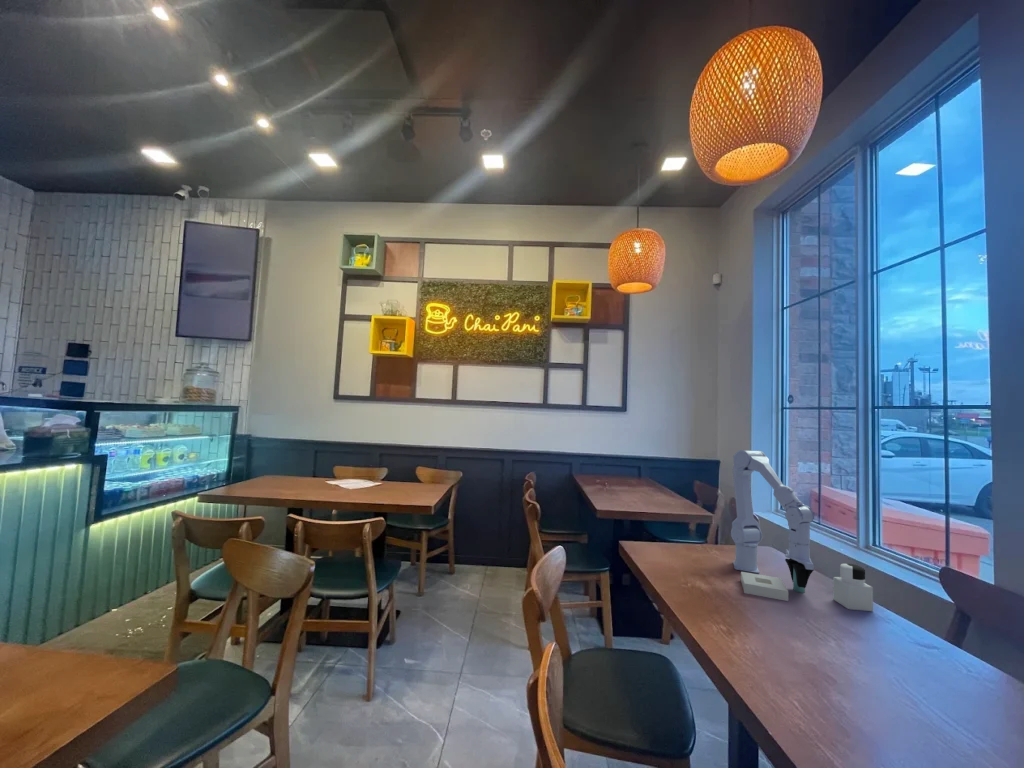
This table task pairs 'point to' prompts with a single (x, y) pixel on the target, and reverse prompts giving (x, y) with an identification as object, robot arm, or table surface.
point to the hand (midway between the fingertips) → (799, 584)
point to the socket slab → (764, 586)
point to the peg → (795, 586)
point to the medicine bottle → (852, 588)
